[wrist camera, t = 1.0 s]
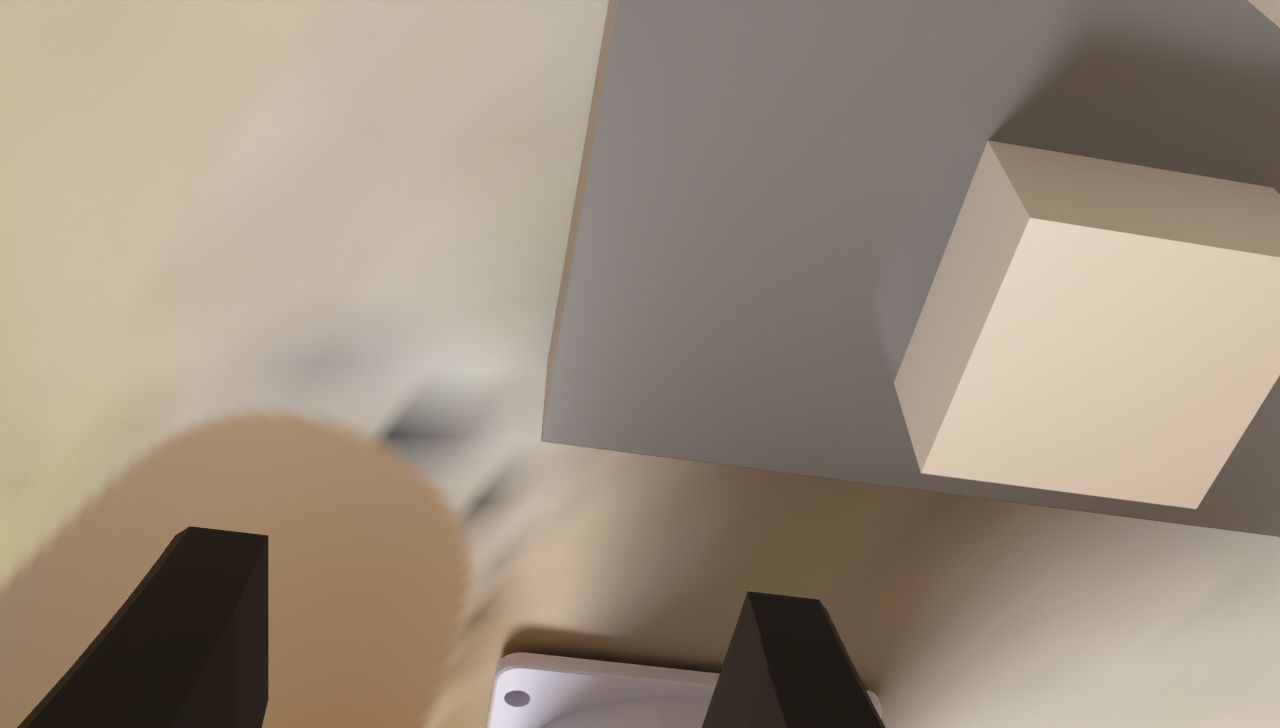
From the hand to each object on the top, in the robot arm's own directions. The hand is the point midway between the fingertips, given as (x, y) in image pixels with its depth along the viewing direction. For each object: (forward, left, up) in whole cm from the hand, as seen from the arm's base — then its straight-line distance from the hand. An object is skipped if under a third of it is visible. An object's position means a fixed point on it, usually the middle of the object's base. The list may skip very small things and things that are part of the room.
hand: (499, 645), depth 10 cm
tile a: (0, -8, -7) cm, 11 cm away
